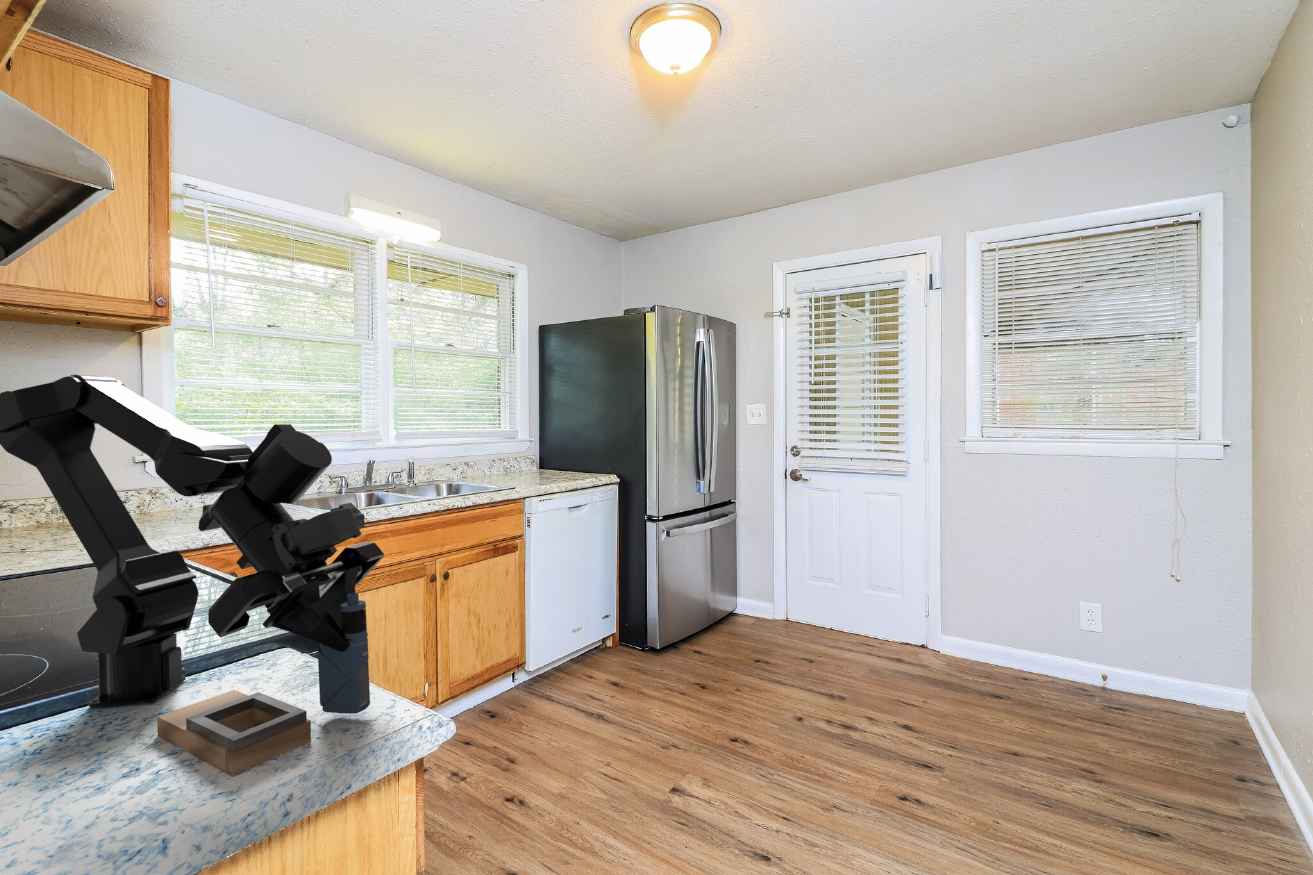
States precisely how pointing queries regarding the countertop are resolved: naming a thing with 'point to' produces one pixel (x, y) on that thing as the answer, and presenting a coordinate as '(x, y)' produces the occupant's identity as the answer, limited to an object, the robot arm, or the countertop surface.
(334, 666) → the vaping device
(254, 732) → the walnut socket board
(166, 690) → the robot arm
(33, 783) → the countertop surface
